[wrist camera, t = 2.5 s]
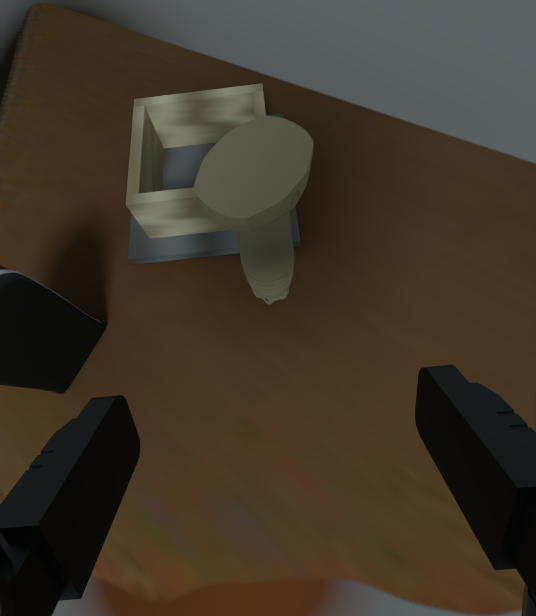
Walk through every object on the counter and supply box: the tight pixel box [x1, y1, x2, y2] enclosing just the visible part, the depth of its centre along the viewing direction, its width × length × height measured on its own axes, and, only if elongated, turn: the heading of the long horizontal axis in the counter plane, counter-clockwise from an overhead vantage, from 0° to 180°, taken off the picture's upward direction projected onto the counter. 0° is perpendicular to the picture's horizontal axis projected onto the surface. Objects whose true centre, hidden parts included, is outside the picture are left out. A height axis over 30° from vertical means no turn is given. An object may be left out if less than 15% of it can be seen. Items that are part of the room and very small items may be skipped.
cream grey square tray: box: [126, 84, 300, 265], centre depth 32 cm, size 16×16×6 cm
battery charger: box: [0, 266, 105, 394], centre depth 24 cm, size 7×4×11 cm, turn 156°
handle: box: [194, 116, 314, 304], centre depth 23 cm, size 5×6×15 cm
